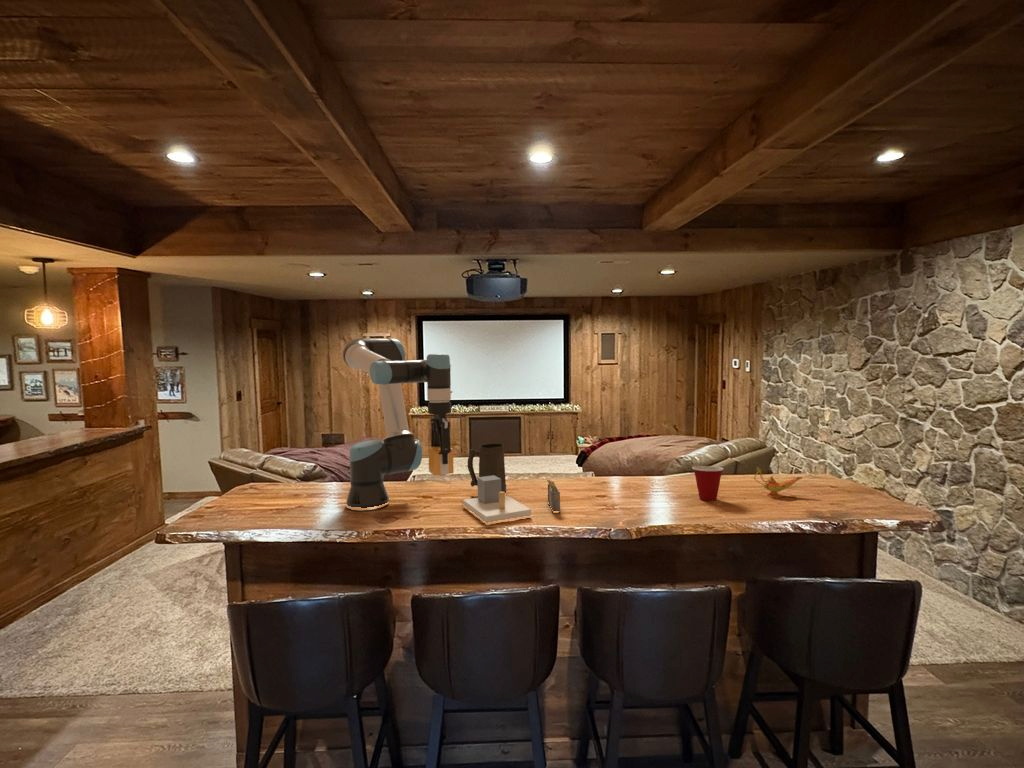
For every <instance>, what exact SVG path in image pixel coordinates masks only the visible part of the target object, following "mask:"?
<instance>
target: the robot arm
mask: <svg viewBox="0 0 1024 768" xmlns="http://www.w3.org/2000/svg"><path fill="white" fill-rule="evenodd" d="M342 359H343V361H344V363H345V364H346V365H347V366H348V367H350V368H352V369H355V370H361V371H362V372H364V373H366V374H369V378H370V380H371V382H372V383H373V384H374V385H377V386H378V391H379V397H380V398H379V399H380V403H381V408H382V416H383V420H384V428H385V433H386V435H385V437H384V438H383V441H382V440H380V439H373V440H367V441H362V442H358V443H356V444H354V445H352V446H351V447H350V448H349V449H350V450H349V458H348V461H349V476H350V487H349V491H348V495H347V499H346V501H345V503H346V504H347V505H348V506H351V507H361V508H367V507H374V506H379V505H382V504H385V503H387V502H388V501H389V502H390V498H389V495H388V491H387V489H386V486H385V484H384V476H386V475H392V474H399V473H404V472H405V473H408V472H410V471H415V470H417V469H419V467H420V465H421V463H422V460H423V446H422V443H421V441H420V440H419V439H415V436H414V435H415V434H414V433H413V432H412V431H410V430H409V429H410V428H409V424H408V419H407V412H406V407H405V406H406V405H405V401H404V394H403V389H402V384H412V383H413V384H415V383H427V386H426V388H427V389H426V390H427V391H426V392H427V393H426V394H427V395H426V396H427V401H429V402H427V413H428V414H429V415H433V417H431V418H430V440H431V441H430V443H431V444H430V447H439V446H440V451H441V452H439V455H440V474H443V475H450V474H449V458H448V454H449V453H450V452H451V448H452V447H451V446H452V445H451V429H450V428H451V422H450V421H448V419H447V415H449V414H451V413H452V402H451V401H450V400H451V399H452V397H451V396H452V393H453V391H452V389H451V388H452V387H451V386H452V385H451V384H452V383H451V366H452V365H451V358H450V355H449V354H447V353H429V354H427V356H426V359H418V360H417V359H416V360H415V359H414V360H413V359H412V360H410V359H409V360H406V351H405V348H404V345H403V344H402V342H401V341H400V340H399V339H396V338H390V337H384V338H382V337H381V338H378V337H377V338H376V337H375V338H373V337H371V338H370V337H366V338H365V337H360V338H355V339H352V340H351V341H349V342H348V343H347V344H346V345H345V346H344V347H343V350H342Z"/></svg>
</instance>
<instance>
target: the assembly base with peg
mask: <svg viewBox="0 0 1024 768" xmlns="http://www.w3.org/2000/svg"><path fill="white" fill-rule="evenodd" d="M476 478H477V480H478V486H477V497H474V498H465V499H463V500H462V505H463V504H464V505H465V506H466V507H467V508H469V509H470V510H471V511H472V512H474V513H475V514H476V515H477V516H479V517H480V518H481V519H482V520H483V521H485V522H486V523H488V522H493V521H498V520H505V519H510V518H517V517H523V516H530V515H531V516H532V509H531V508H530V507H528V506H526V505H524V504H522V503H521V502H519V501H517V500H516V499H514V498H512V497H510V496H508V495H505V492H501V479H500V478H498V477H496V476H494V475H492V476H484V477H479V476H478V477H477V476H476Z"/></svg>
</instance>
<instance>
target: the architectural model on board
mask: <svg viewBox="0 0 1024 768" xmlns="http://www.w3.org/2000/svg"><path fill="white" fill-rule="evenodd" d="M546 481H547V483H548V484H547V503H548V502H549V504H550V506H551V508H552V510H553V511H560V512H561V492H560V490H559V488H558V487H557V485H556V483H555V481H552V480H549V479H548V478H546ZM549 504H548V505H549Z"/></svg>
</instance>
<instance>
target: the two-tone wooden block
mask: <svg viewBox="0 0 1024 768" xmlns="http://www.w3.org/2000/svg"><path fill="white" fill-rule="evenodd" d="M439 452H441V451H440V446H439V447H431V446H430V447H429V446H428V472H429V473H430V474H431V475H433V476H442V475H444V474H440V455H439ZM448 458H449V474H448V475H450V474H451V475H452V474H454V469H455V468H454V448H452V447H451V452H450V453H449V454H448Z"/></svg>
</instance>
